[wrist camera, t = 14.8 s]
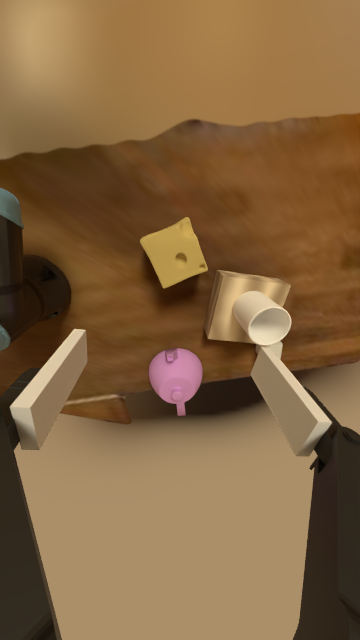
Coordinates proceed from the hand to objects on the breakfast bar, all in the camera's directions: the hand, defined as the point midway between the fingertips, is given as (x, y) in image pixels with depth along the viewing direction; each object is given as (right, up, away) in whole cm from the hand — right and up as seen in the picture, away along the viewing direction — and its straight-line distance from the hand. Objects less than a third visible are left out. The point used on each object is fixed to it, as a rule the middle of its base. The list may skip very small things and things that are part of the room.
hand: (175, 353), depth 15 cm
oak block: (+16, +7, +39) cm, 42 cm away
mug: (+17, +4, +34) cm, 38 cm away
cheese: (-1, +19, +32) cm, 37 cm away
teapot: (-1, -11, +47) cm, 48 cm away
